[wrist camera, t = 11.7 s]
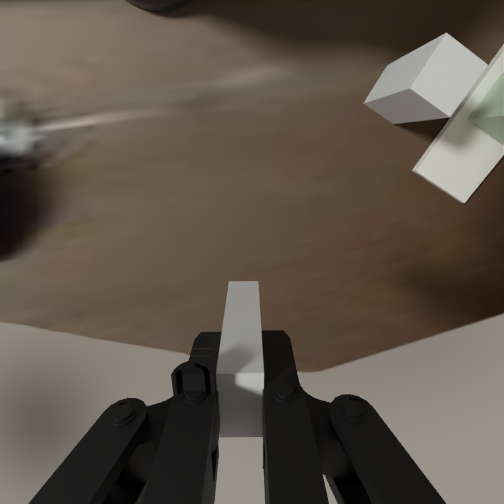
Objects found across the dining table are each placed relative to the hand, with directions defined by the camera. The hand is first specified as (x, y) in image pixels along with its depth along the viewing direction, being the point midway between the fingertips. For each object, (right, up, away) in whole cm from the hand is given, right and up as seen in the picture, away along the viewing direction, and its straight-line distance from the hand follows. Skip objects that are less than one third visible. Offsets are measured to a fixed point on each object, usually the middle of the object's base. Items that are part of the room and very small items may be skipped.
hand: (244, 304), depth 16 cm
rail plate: (+31, +20, +24) cm, 44 cm away
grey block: (+18, +23, +23) cm, 37 cm away
